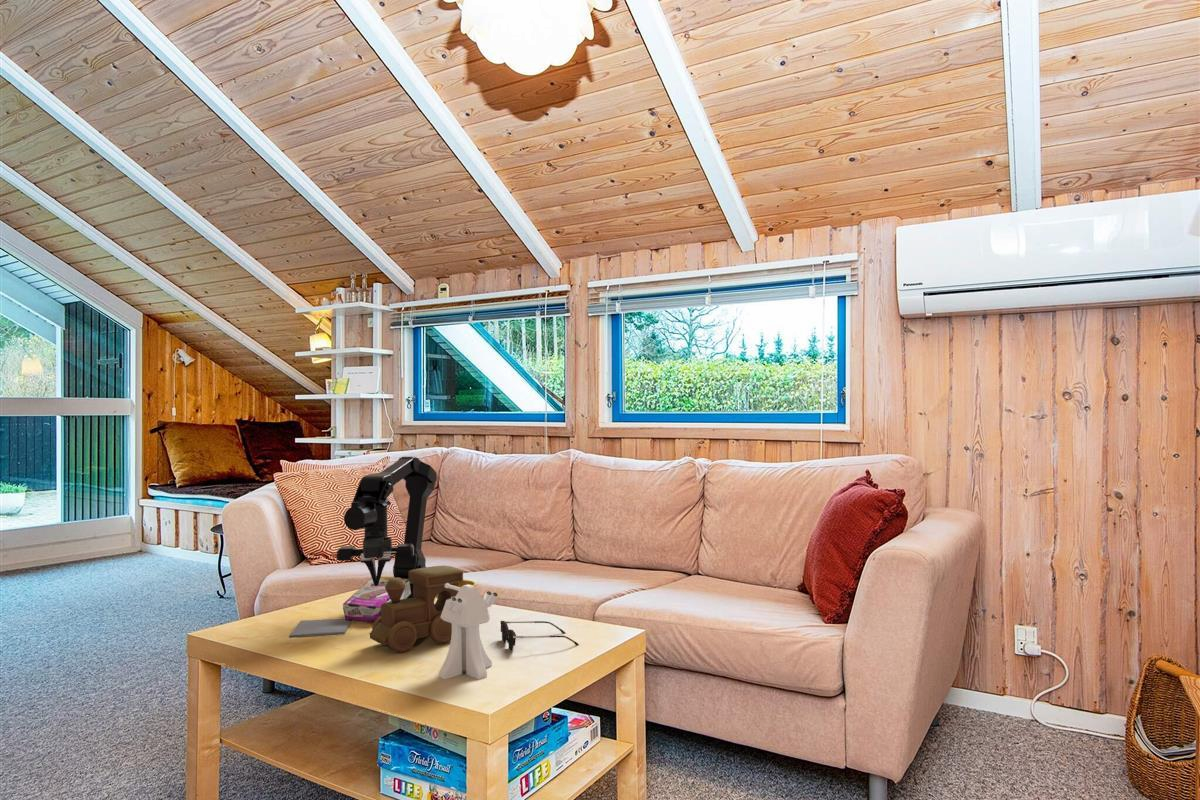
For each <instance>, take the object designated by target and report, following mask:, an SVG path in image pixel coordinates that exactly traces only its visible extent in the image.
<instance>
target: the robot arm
mask: <svg viewBox="0 0 1200 800" xmlns="http://www.w3.org/2000/svg"><path fill="white" fill-rule="evenodd" d="M437 479H438V474H437V471H436V470H435V469H434V468H433V466H431V465H430V464H428V463H425V462H423V461H421V460H420V459H419V458H418V457H416V456H401V457H399V458H398V460H396V461H395V462H394V463H392V464H391V465H390V466H387V467H386V468H385V469H383V470H382V471H380V472H377V473H376V472H374V473H370V474H367V475H364V476H363V477H361V479H360V481H359V483H358V486H357V489H356V491H355V495H354V497H353V500H352V502H350V506H351V507H349V508H348V509H347V510H346V511H345V512H344V516H343V523H344V524H345V526H346V527H347V528H348V529H349V530H352V531H357V530H361V529H364V533H363V535H364V538H363V541H362V548H356V546H355V545H345V546H343V545H342V546H340V548H339V549H338V550H336V551H337V552H336V561H340V562H341V561H350V560H351V559H352V558H353V557H360V558H361V559H360V563H362V564H365V565H366V567H367V569H368V571H369V574H370V576H371V578H372V580H373V583H374V585H375V586H378V584H379V581H380V578H381V576H382V574H383V571H384V568H385V565H386V563H387V562H389V563H390V561H391V560H392V558H393V557H392V555H394V563H393V567H392V575H393V578H403V579H409V571H410V570H414V569H419V568H426V567H427V566H426V557H425V556H424V553H423V550H422V545H423V544H422V543H423V537H424V530H425V529H424V527H425V518H426V511H427V501H428V498H429V497H430V495H431V494H432V493H433V492H434V490H435V486H436V482H437ZM402 480H403V481H405V485H404V486H405V487H404V488H405V489H406V491H407V494H408V495H409V500H408V501H409V502H408V509H407V517H406V524H405V525H406V526H405V531H404V532H405V533H404V538H403V539H404V541H403V543H398V544H397V546H394V547H393V541H392V537H391V536H388V506H390V505H391V503H392V502H391V501H390V500H389V499H388V497H389V496H390V495H391V493H393V492H394V486H395V485H396V484H398V483H399V482H400V481H402ZM375 558H377V559H378V560H377V569H376V562H375V561H376V559H375ZM376 576H377V577H376ZM410 590H411V595H410V596H409V597H408V598H414V595H413V583H412V582H410Z"/></svg>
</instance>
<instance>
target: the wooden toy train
mask: <svg viewBox="0 0 1200 800" xmlns="http://www.w3.org/2000/svg"><path fill="white" fill-rule="evenodd" d="M463 580H464V571H463V570H462V569H460V568H457V567H455V566H451V565H435V566H433V565H432V566H426V568H419V569H414V570H410V571H409V582H412V583H413V595H414V598H407V599H401V600H400V598H401V596H402V594H403V591H404V589H405V587H406V585H405V584H404V583H403V581H402V580H401V578H394V577H392V578H390V579H389V581H388V583H387V584H386V586H385V589H386V591H387V593H388V595H389V597H390V599H391V601H390V602H386V603H382V604H381V616H380V617H379V618H377V619H376V621H375V622H374V623H372V628H371V631H370V632H369V639H371V640H373V641H374V642H377V643H378V644H380V645H381V646H386V645H388V646H389V647H390V649H391V650H392V651H393V652H395V653H405V652H407V651H410V649H411V648H413V646H414V645H415V644H416V641H417V639H419V638H421V639H422V638H425V637H429V636H430V638H431V639H432V640H433V641H434V642H435V643H437V644H440V645H443V644H446V643H449V642H451V635H452V623H449V622H446V621H444V620H443V619H441V618H440V617H441V614H442V611H443V608H444V605H445V602H446V600H448V599H451V597H455V596H456V595H457V593H458V591H457V590H454V589H450V588H445V584H446V583H449V584H450V585H453V586H456V587H459V583H461V582H463ZM437 594H438V599H437V598H436V596H437ZM435 600H436V601H435Z"/></svg>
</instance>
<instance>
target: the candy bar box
mask: <svg viewBox="0 0 1200 800" xmlns="http://www.w3.org/2000/svg"><path fill="white" fill-rule="evenodd" d="M376 577H377V575H376ZM390 578H393V577H392V576H391V577H389V576H383V575H381V578H380V581H379V584H378V586H375V585H374V583H373V580H372V577H371V578H370V579H369V580H368V581H367V582H365V584H363V585H362V586H361V587H360V588H359V589H358V590H357V591H356V592H354V593H353V594H352V595H351V596H350V597H348V598H347V600H346V601H345V602H344V603H342V608H343V609H342V610H343V616H344V618H345V620H351V621H353V622H364V623H371V624H374V622H375V621H376V619H377V618H379V617H380V616H381V604H382V603H386V602H390V601H391V599H390V597H389V595H388V593H387V591H386V589H385V586H386V584H387V583H388V581H389V579H390ZM401 580H402V581H403V583H404V584H405V585H406V587H405V589H404V591H403V594H402V596H401V598H400V600H401V599H407V598H408V597H409V596H410V595H411V590H410V582H409V579H403V578H401Z"/></svg>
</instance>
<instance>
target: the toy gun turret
mask: <svg viewBox="0 0 1200 800" xmlns="http://www.w3.org/2000/svg"><path fill="white" fill-rule="evenodd" d="M445 588H450V589H454V590H457V591H458V593H457V595H456V596H455V597H451V599H448V600H446V602H445V605H444V608H443V611H442V614H441V617H440V618H441V619H443V620H444V621H446V622H449V623H452V635H451V640H450V644H449V647H448V651H447V654H446V658H445V660H444V662H443V663H442V666H441V667H440V669H439V671H438V678H440V679H442V680H446V679H451V678H454V677H457V676H460V675H462V676H463V675H465V676H466V675H467V676H470V677H472V678H474V679H477V680H481V679H484V678H488V671H487V668H490V667H493V661H492V659H491V657H490V656H489V654H488V653H487V652H486V650H485V647H484V644H483V642H482V639H481V634H480V633H481V632H480V631H481V630H480V625H482V624H486V623H489V621H490V620H491V619H492V618H491V614H490V613H489V610H488V608H490V607H492V606H493V605H494V603H495V602H496V600H497V598H498V596H499V594H498V593H497V592H496V591H493V592H492V591H490V590H487V591H486V592H485V594H484V595H483V597H482V596H481V594H480V593H479V589H478V588H477V586H476V587H474V586H473V585H469V584H468V585H463V586H462V587H456V586H453V585H450V584H449V583H446V584H445Z"/></svg>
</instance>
